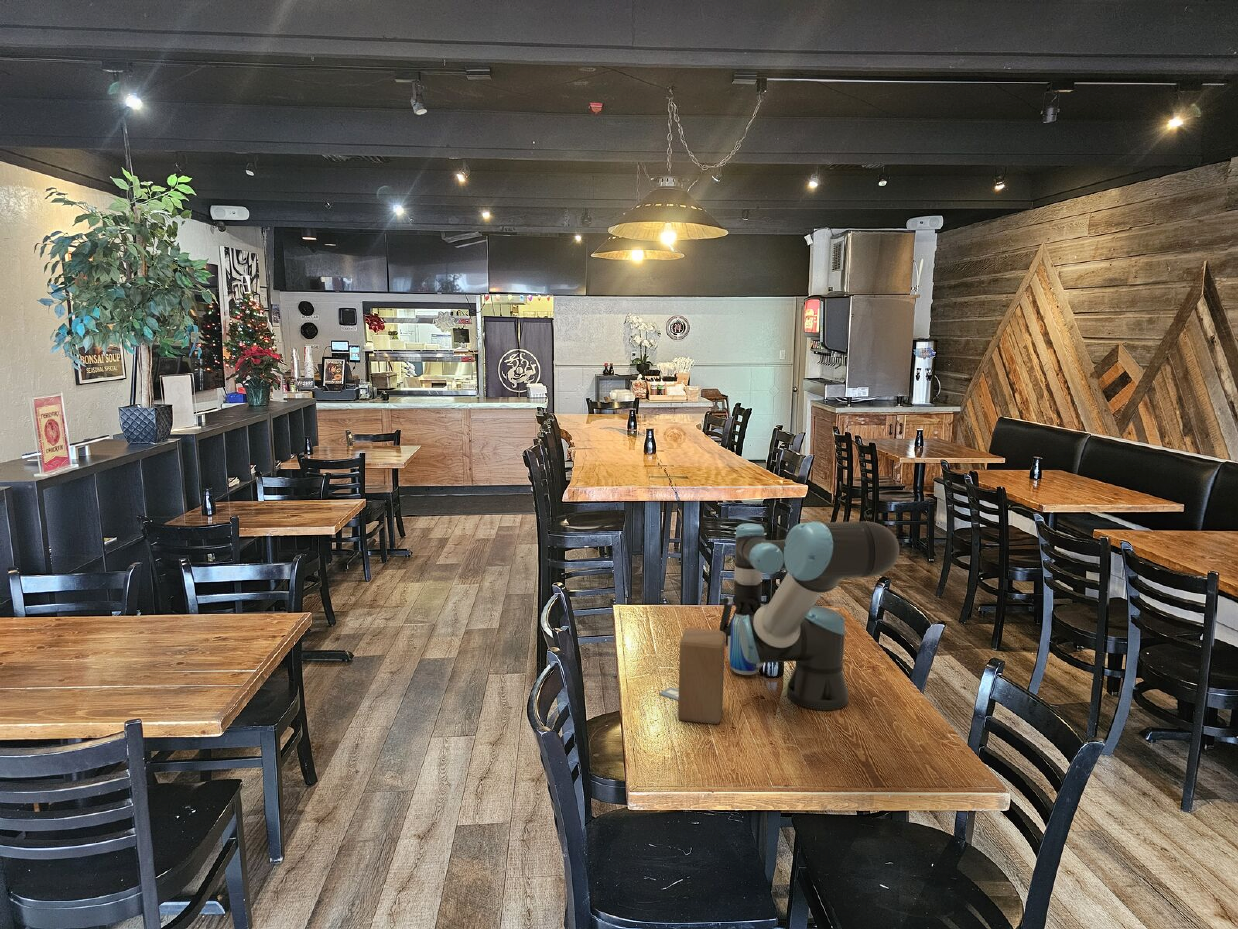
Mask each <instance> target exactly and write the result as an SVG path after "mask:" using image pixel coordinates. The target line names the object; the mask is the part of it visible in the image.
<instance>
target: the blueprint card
mask: <svg viewBox="0 0 1238 929" xmlns="http://www.w3.org/2000/svg"><path fill="white" fill-rule="evenodd" d="M658 694H659V696H662V697H664V698H669V699H670V698H671V699H670V700H673V699H674V701H676V700H677V702H678V697H679V688H675V687H671V686H669V687H668V688H666V689H664V690H662V691H660V692H659V693H658Z"/></svg>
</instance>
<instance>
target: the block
mask: <svg viewBox="0 0 1238 929" xmlns="http://www.w3.org/2000/svg"><path fill="white" fill-rule="evenodd" d="M725 641H726V635H725V633H724V632H723V631H720V630H719V629H718V630H714V629H703V628H695V627H694V628H690V627H687V628H685V629H684V631H683V634H682V636H681V640H680V641H679V660H678V661H679V662H678V665H679V666H678V690H679V697H678V701H677V702H678V704H677V717H678V720H680V721H685V722H693V723H695V722H696V723H704V724H712V725H713V724H714V725H717V724H719V723H720V722H721V718H722V711H723V705H724V702H723V701H724V700H723V699H724V679H725V678H724V676H725V650H726V648H725V647H726V644H725Z"/></svg>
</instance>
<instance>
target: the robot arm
mask: <svg viewBox="0 0 1238 929" xmlns="http://www.w3.org/2000/svg"><path fill="white" fill-rule="evenodd" d="M735 530H736V531H735V537H734V540H735V545H734V546H735V547H734V549H735V550H734V575H733V579H734V582H733V595H734V596H733V597H731V596H727V597H725V598H723V609H722V610H723V611H722V615H721V619H720V623H719V624H720V625H719V628H718V631H723V632H724V634H725V647H727V660H729V661H730V645H731V620H732V618H733V617H734V616H735V613H736V614H737V615H738V614H741V615H746V616H742V617H741V619H740V622H739V636H740V643H741V648H742V652H743V655H744V657H745V659H746V660H747V661H748V662H749V663H757V664H756V667H757V668H760V667H761V668H762V667H763V666H764V664H765V663H766V664H769V663H784V662H795V665H794V669H793V670H792V673H791V675H790V678H789V681H788V683H787V688H786V696H787V698H788V699H789V700H790V701H791V702H792V703H794V704H796V705H798V706H800V707H803V708H805V709H806V708H807V709H809V710H815V711H816V710H817V711H835V710H841V709H842V708H844V707H846V706H847V705H848V703H849V691H848V687H847V682H846V679H845V676H844V672H843V668H844V667H843V666H844V653H845V652H844V651H845V635H846V634H847V632H846V622H845V621H846V620H845V618H844V617H843V615H842V614H841V613H839V612H838V611H836V610H834V609H831V608H827V607H825V606H820V605H815V604H816V603H817V602H818V601H819V599H820V597H821V596H822V594H825V593H828V592H831V591H833V590H834V589H835V588H836V587H837V586H838V585H839V583H840V582H841V581H842V580H844V579H859V578H860V579H861V578H862V579H865V578H872V577H873V578H874V577H878V576H881V575H883V574H886V573H887V572H888V571H890V570H891V569H892V568H893V567H894V566H895V565H896V563H897V562H898V558H899V556H900V544H899V541H898V539H897V537H896V535H895V534H894V533H893V532H892V530H890V529H889V528H887V527H886V526H885V525H882V524H880V523H877V522H874V521H865V520H863V521H862V520H861V521H834V522H833V521H831V522H827V521H826V522H823V521H822V522H820V521H808V522H804V523H803V522H801V523H797V524H796V525H794V526H793V527H792V528H791V529H790V530H789V532H788V533H787V536H786V538H785V539H776V540H768V539H765V536H766V535H765V528H764V527H763V526H762V525H761V524H756V523H741V524H739V525H738V526H736V529H735ZM780 570H781V571H782V570H786V571H787V573H786V574H785V576H784V578H782V581H781V582H780V584H779V586H778V588H777V590H775V592H774V594H773V596H772V597H771V599H770V601H769V603H766V604H764V602H763V601H762V596H763V578H764V576H763V574H765V575H773V574H775V573H777V572H779V571H780ZM733 604H734V606H735V610H734V612H733V615H732V617H731V614H732V610H733V609H732V608H733ZM730 617H731V619H730ZM761 668H760V669H761Z"/></svg>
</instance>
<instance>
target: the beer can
mask: <svg viewBox="0 0 1238 929" xmlns="http://www.w3.org/2000/svg"><path fill="white" fill-rule="evenodd" d="M742 616H746V615H741V614H738V615H737V614H736V613H735V616H734V617H733V616H732V617H733V618H732V617H731V619H732V620H731V619H730V621H731V645H730V660H729V666H730V667H731V669H732V671H733V672H734V673H736V674H739V675H743V676H751V675H755V674H758V672H759V670H761V668H762V666H761V667H760V668H757V667H756V664H757V663H749V662H748V661H747V660H746V659H745V657H744V655H743V652H742V648H741V643H740V636H739V622H740V619H741V617H742Z"/></svg>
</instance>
